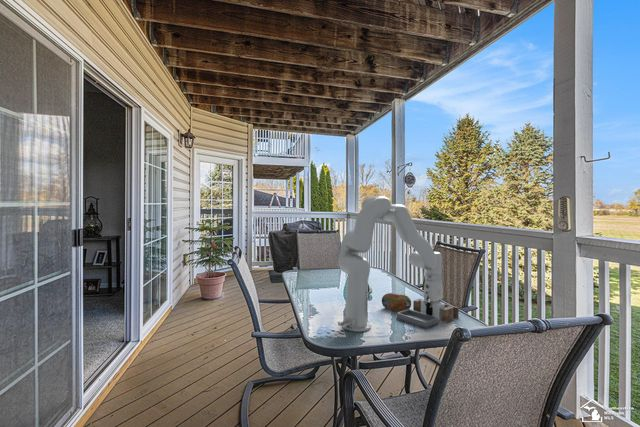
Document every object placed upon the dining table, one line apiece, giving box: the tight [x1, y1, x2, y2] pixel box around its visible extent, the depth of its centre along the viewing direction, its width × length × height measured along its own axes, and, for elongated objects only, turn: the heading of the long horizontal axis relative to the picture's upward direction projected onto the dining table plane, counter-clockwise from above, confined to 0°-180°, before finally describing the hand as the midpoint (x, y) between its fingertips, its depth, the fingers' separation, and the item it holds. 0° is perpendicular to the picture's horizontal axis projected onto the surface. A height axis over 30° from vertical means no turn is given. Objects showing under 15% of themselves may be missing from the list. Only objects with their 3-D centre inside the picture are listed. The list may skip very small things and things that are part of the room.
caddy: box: [420, 299, 446, 321], centre depth 153 cm, size 5×11×7 cm, turn 38°
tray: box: [396, 308, 439, 330], centre depth 145 cm, size 10×16×3 cm, turn 38°
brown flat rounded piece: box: [381, 292, 412, 312], centre depth 162 cm, size 15×3×8 cm, turn 62°
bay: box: [412, 298, 460, 324], centre depth 155 cm, size 11×18×6 cm, turn 38°
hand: (432, 313), depth 153 cm, fingers closed on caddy, 5 cm apart
